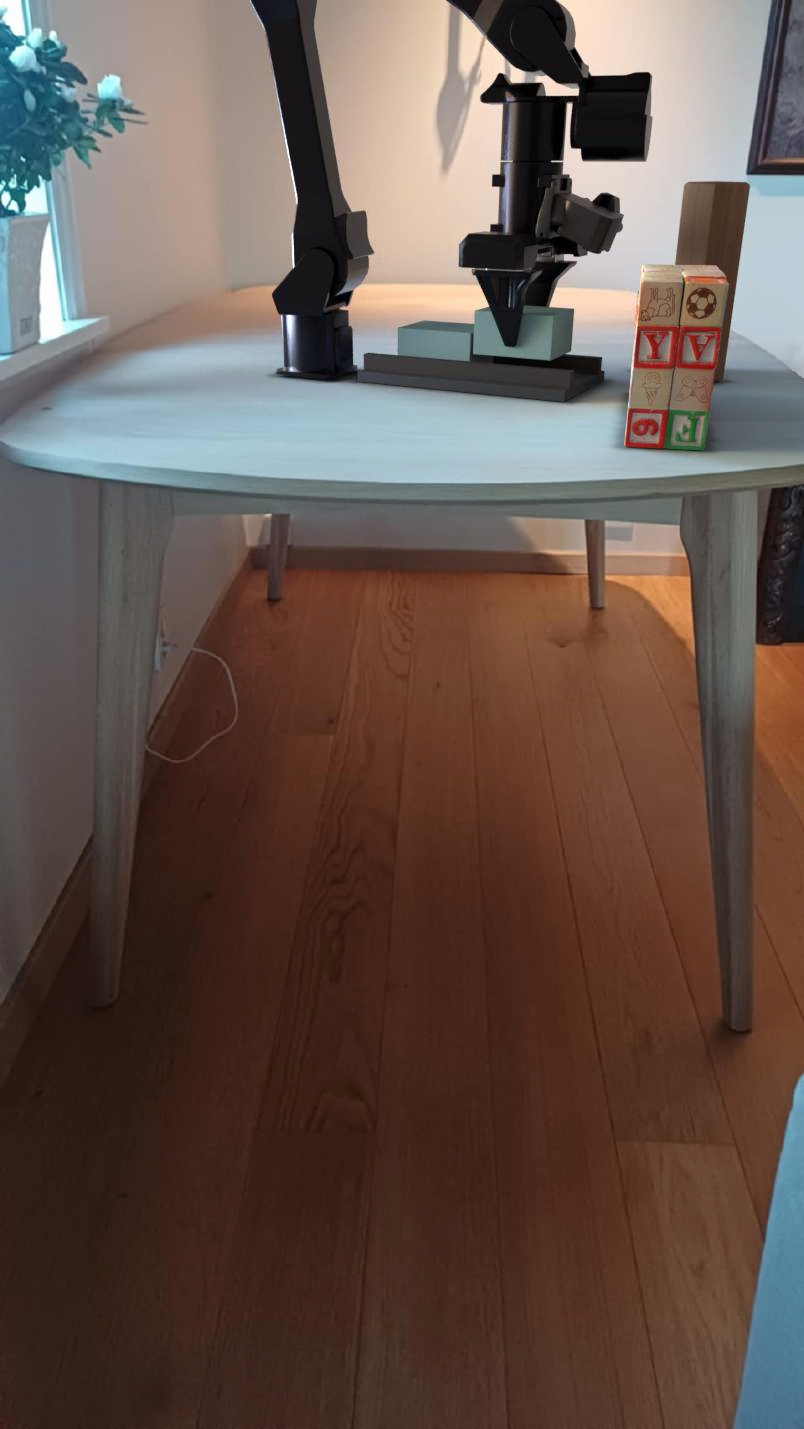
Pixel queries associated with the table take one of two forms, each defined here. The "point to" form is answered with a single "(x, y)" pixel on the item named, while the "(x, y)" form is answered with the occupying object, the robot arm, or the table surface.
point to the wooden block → (714, 238)
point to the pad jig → (476, 366)
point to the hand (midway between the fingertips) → (522, 342)
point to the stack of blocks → (675, 355)
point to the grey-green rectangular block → (527, 334)
